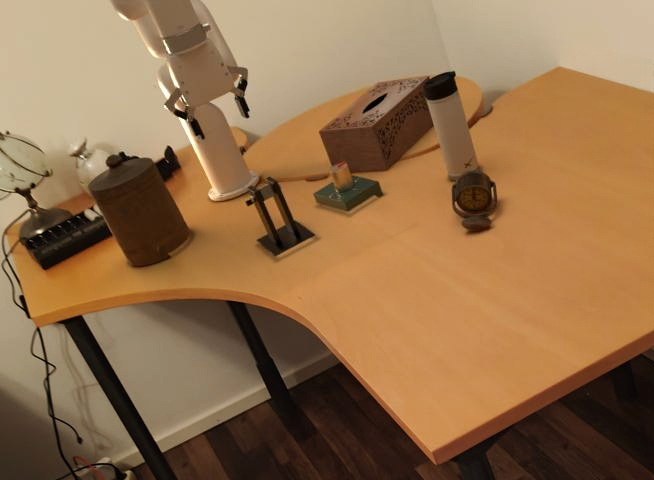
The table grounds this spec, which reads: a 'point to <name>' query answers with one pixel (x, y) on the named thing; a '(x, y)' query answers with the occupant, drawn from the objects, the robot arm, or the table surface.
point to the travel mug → (450, 124)
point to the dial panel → (348, 194)
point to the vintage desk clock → (474, 198)
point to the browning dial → (341, 177)
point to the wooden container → (139, 210)
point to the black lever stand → (292, 230)
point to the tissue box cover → (379, 125)
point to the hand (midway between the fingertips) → (224, 127)
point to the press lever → (263, 194)
